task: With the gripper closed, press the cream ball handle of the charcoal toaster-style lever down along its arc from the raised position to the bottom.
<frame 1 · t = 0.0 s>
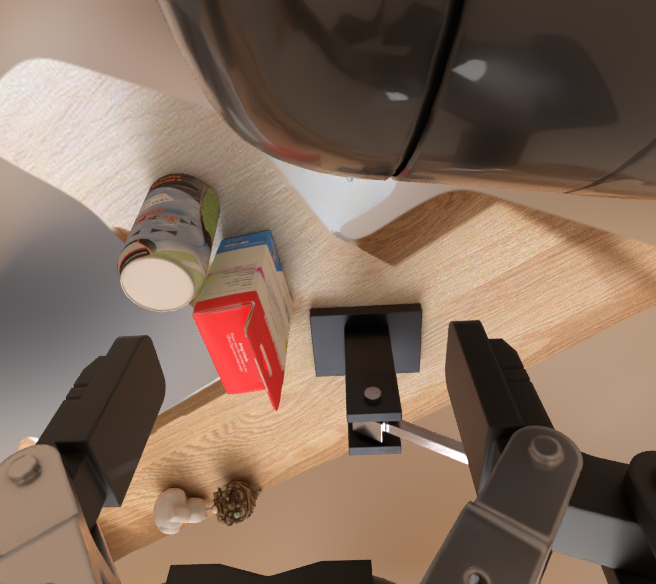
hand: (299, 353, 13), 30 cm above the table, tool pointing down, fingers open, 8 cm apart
ink box: (259, 271, 46), on the table
beverage can: (192, 206, 43), on the table
pendant: (228, 512, 63), point 3 cm above the table
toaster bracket: (365, 337, 50), on the table
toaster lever: (430, 440, 39), point 14 cm above the table, hinge at 30.0°
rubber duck: (153, 510, 62), point 3 cm above the table
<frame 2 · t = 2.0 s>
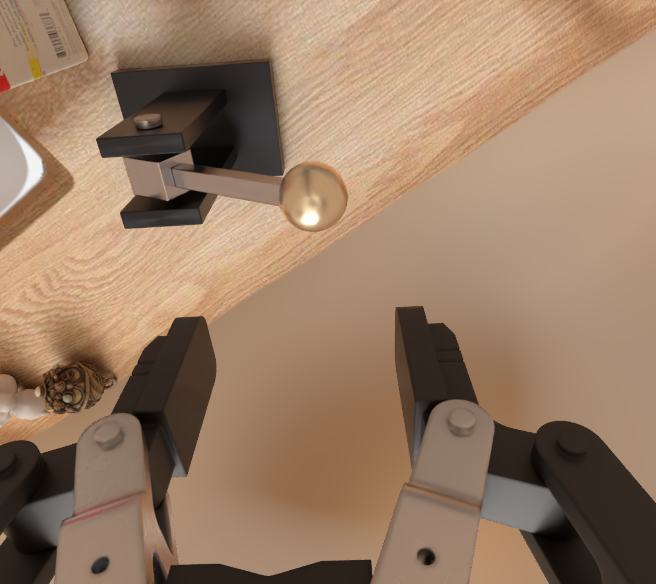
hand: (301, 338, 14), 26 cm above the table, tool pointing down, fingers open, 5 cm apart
ink box: (31, 0, 32), on the table
pendant: (69, 404, 49), point 3 cm above the table
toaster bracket: (205, 122, 36), on the table
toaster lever: (231, 183, 25), point 14 cm above the table, hinge at 30.0°
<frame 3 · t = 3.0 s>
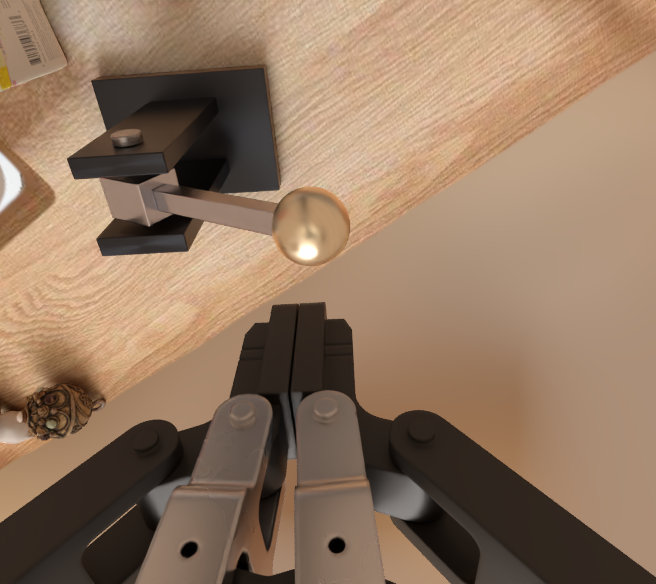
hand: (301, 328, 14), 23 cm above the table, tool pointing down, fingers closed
ink box: (4, 2, 29), on the table
pendant: (54, 428, 46), point 3 cm above the table
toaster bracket: (195, 133, 34), on the table
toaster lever: (219, 208, 22), point 14 cm above the table, hinge at 30.0°
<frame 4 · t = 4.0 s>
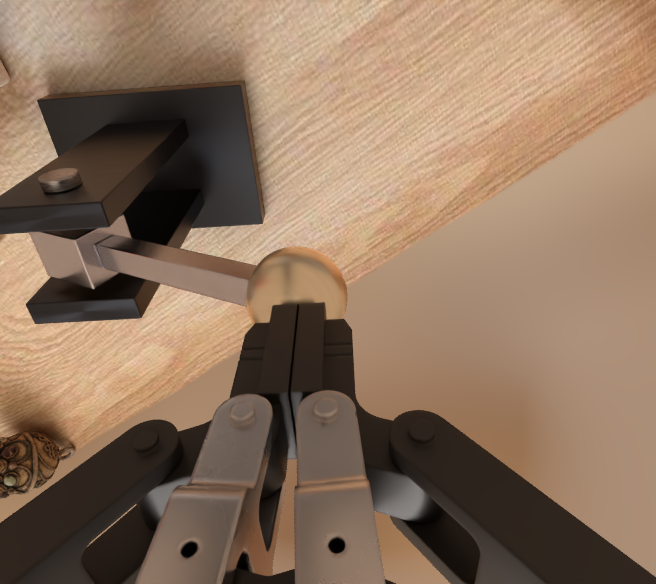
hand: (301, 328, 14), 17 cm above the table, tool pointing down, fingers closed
pendant: (17, 480, 42), point 3 cm above the table
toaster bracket: (164, 159, 29), on the table
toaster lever: (180, 268, 17), point 13 cm above the table, hinge at 27.4°, touching gripper
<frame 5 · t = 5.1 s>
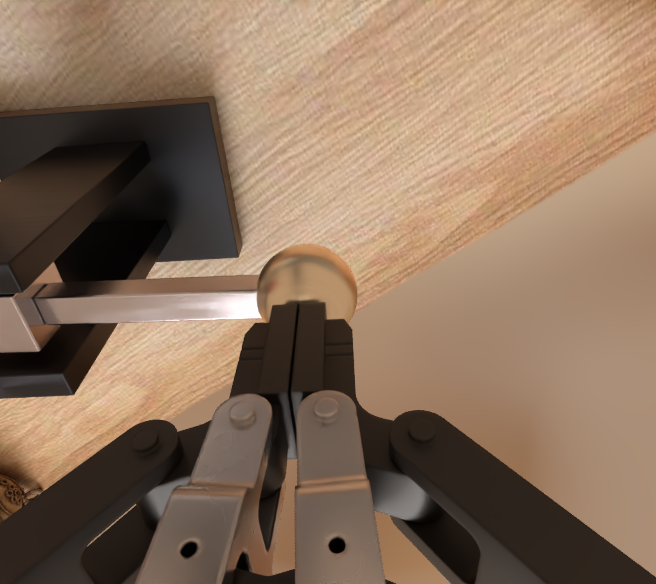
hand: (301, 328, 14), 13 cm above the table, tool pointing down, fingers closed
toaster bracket: (125, 184, 25), on the table
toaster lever: (156, 300, 16), point 11 cm above the table, hinge at 1.8°, touching gripper
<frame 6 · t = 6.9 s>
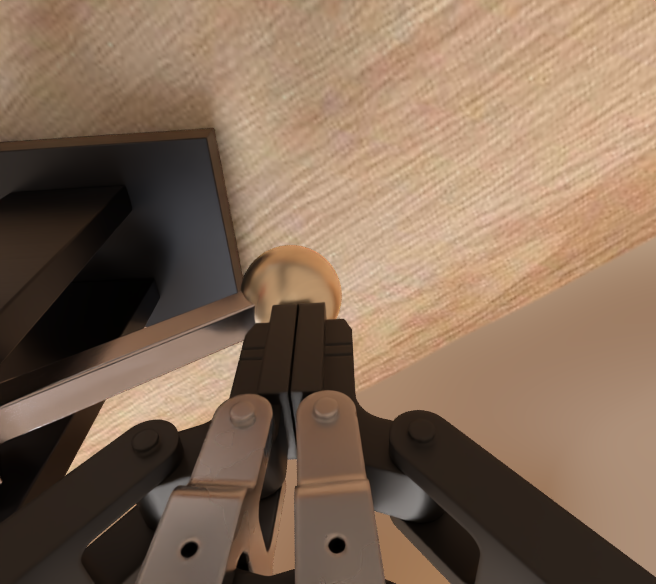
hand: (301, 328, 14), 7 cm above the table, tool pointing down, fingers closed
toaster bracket: (103, 233, 20), on the table
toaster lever: (136, 358, 13), point 8 cm above the table, hinge at -33.8°, touching gripper
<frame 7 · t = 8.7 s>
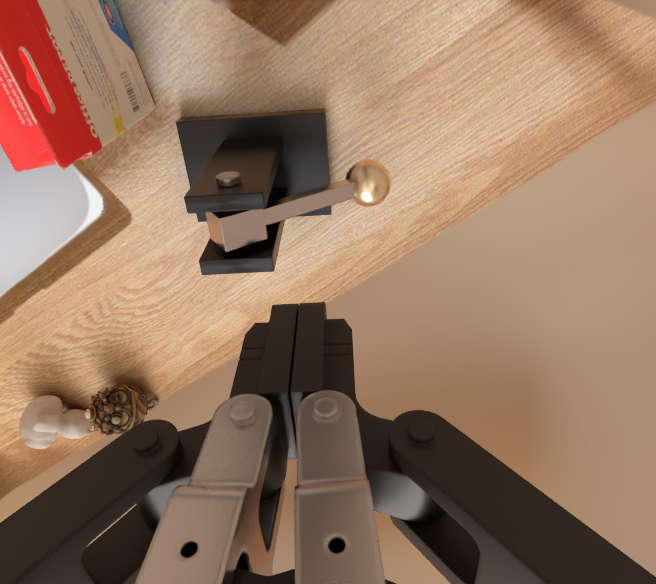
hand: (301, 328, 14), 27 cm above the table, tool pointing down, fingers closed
ink box: (104, 55, 35), on the table
pendant: (113, 424, 51), point 3 cm above the table
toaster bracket: (259, 165, 39), on the table
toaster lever: (308, 201, 32), point 8 cm above the table, hinge at -33.9°
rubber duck: (17, 419, 50), point 3 cm above the table
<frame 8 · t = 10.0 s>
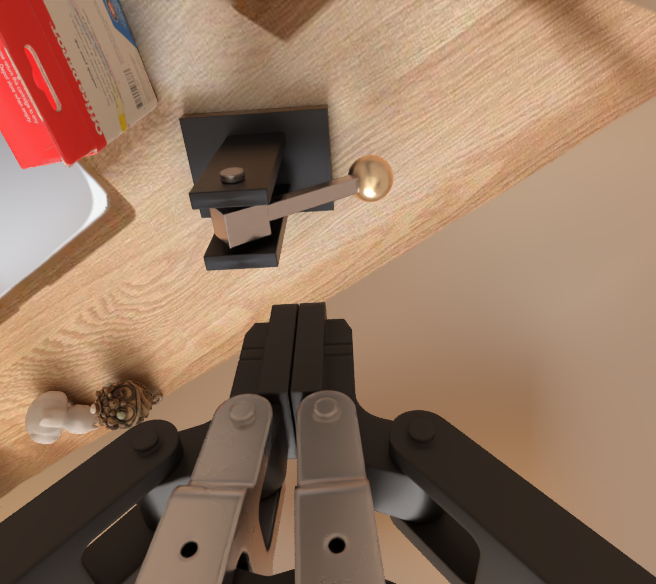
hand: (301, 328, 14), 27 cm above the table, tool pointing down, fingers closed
ink box: (108, 53, 35), on the table
pendant: (118, 419, 51), point 3 cm above the table
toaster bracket: (262, 161, 39), on the table
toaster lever: (311, 197, 32), point 8 cm above the table, hinge at -33.9°
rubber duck: (23, 414, 50), point 3 cm above the table
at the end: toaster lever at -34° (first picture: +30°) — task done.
